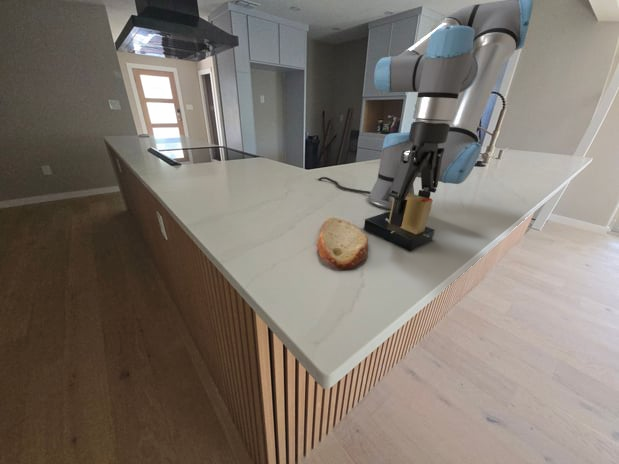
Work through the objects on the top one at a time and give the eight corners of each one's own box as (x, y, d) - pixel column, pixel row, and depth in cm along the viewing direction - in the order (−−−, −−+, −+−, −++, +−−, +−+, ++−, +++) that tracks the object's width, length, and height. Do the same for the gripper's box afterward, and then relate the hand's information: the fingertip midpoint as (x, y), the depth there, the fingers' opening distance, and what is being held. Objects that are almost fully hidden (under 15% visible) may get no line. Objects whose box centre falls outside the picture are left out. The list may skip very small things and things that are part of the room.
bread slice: (334, 221, 72) (335, 209, 70) (391, 246, 60) (394, 232, 59) (284, 240, 61) (284, 226, 59) (342, 275, 49) (344, 259, 47)
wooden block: (388, 222, 65) (394, 192, 62) (396, 219, 67) (402, 189, 64) (416, 234, 60) (425, 201, 56) (424, 231, 62) (433, 199, 58)
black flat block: (360, 230, 68) (362, 219, 66) (388, 220, 75) (390, 210, 73) (411, 255, 57) (414, 242, 56) (438, 241, 64) (441, 229, 63)
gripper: (439, 120, 62) (417, 206, 72) (383, 120, 49) (366, 225, 59) (472, 123, 56) (443, 215, 66) (419, 123, 44) (394, 237, 54)
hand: (407, 220), depth 63 cm, fingers open, 10 cm apart
